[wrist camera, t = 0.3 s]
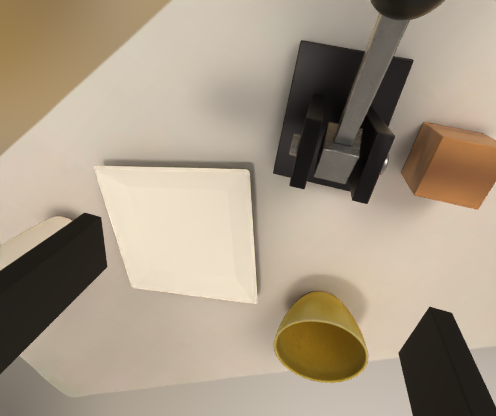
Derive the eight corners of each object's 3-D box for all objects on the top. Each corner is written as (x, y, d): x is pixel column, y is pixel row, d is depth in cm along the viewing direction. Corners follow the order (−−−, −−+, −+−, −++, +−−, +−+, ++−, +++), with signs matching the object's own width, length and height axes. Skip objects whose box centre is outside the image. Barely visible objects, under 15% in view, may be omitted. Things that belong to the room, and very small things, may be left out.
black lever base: (301, 40, 25) (285, 35, 15) (410, 59, 24) (470, 67, 14) (274, 169, 31) (250, 226, 21) (360, 189, 30) (377, 259, 20)
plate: (260, 294, 40) (257, 305, 38) (138, 279, 44) (130, 289, 43) (253, 163, 32) (248, 170, 30) (102, 160, 36) (91, 166, 34)
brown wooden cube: (423, 121, 26) (442, 136, 22) (483, 133, 25) (515, 150, 21) (400, 173, 29) (413, 195, 24) (454, 185, 28) (478, 210, 24)
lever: (389, -115, 10) (385, -84, 9) (488, -105, 10) (503, -70, 8) (312, 145, 21) (304, 180, 20) (357, 155, 21) (352, 191, 19)
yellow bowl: (271, 280, 39) (261, 324, 32) (351, 269, 35) (357, 316, 29) (294, 334, 42) (288, 383, 36) (368, 329, 39) (376, 382, 33)
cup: (111, 242, 42) (24, 321, 30) (84, 267, 46) (-3, 346, 34) (64, 199, 40) (-49, 264, 28) (40, 228, 44) (-69, 297, 32)
